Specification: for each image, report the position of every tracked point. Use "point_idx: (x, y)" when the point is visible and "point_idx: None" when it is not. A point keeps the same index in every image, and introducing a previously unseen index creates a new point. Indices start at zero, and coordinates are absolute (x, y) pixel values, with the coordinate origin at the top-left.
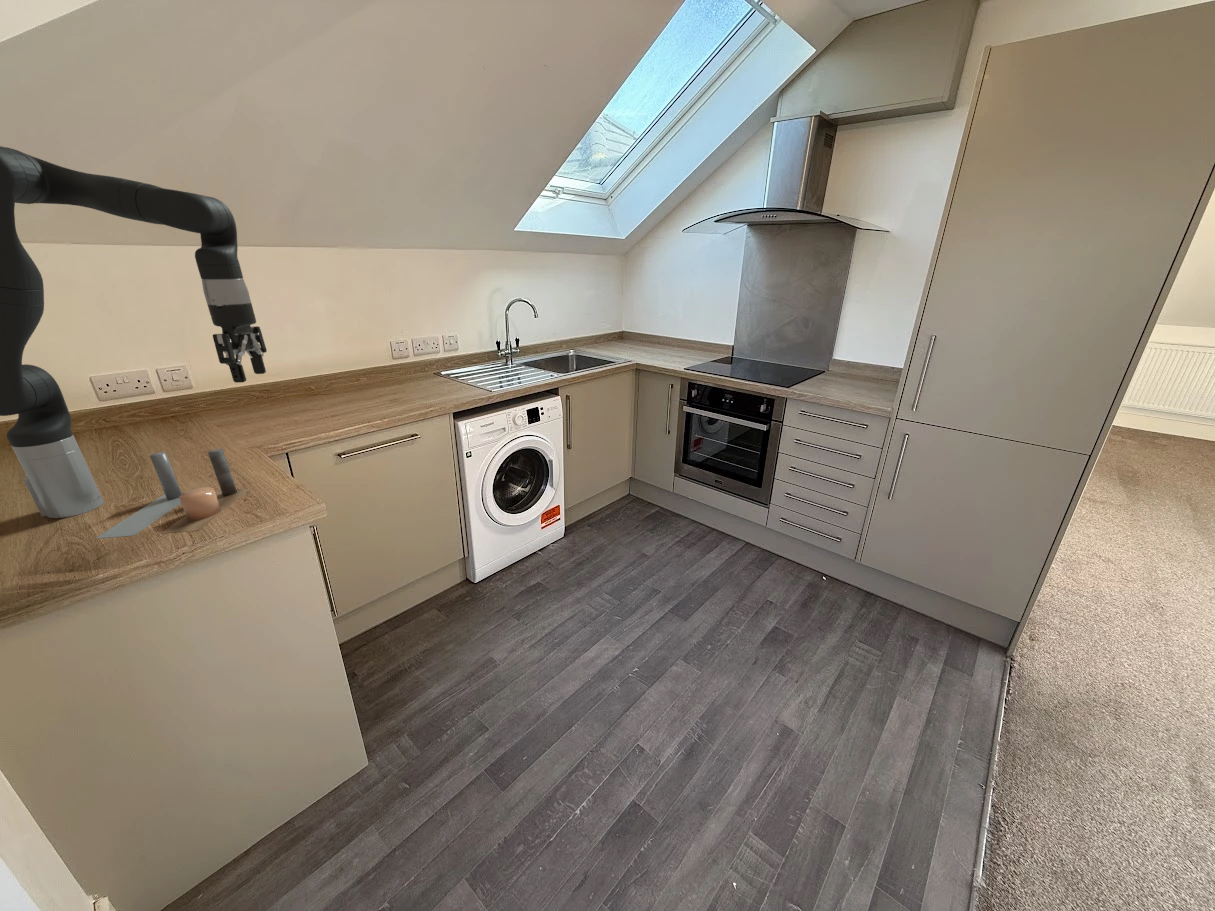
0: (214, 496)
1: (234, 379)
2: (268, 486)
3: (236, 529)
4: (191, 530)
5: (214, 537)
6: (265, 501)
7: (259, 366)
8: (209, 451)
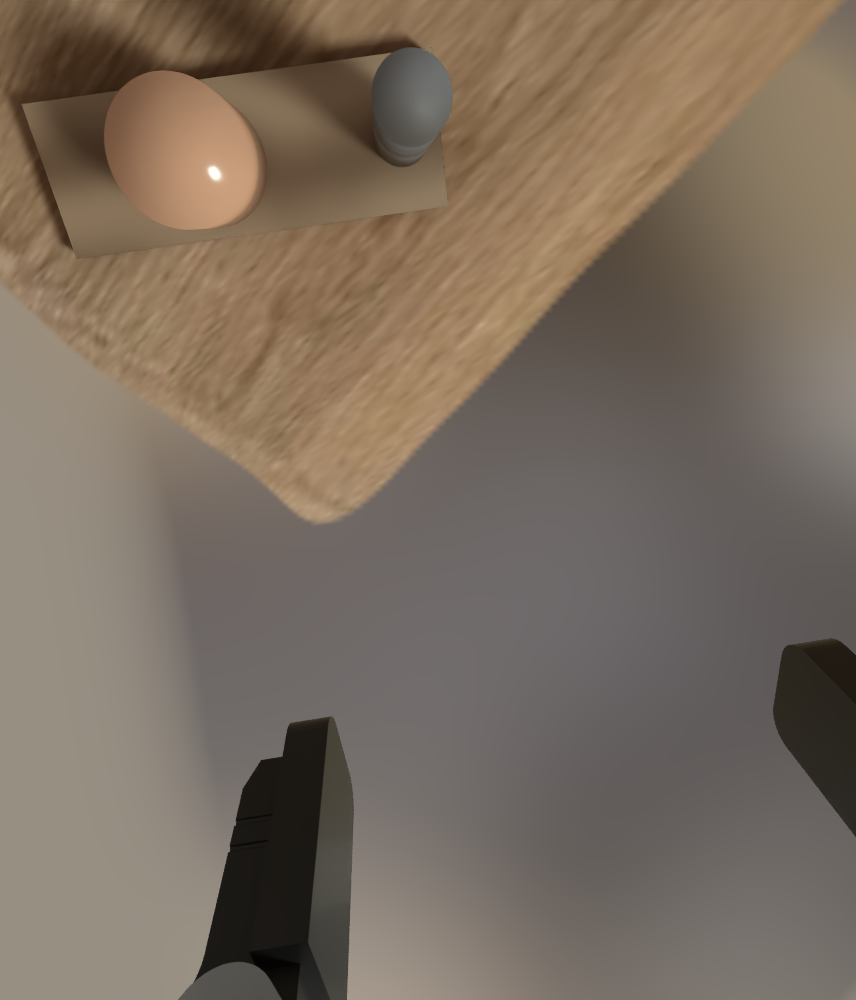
0: (211, 227)
1: (259, 778)
2: (516, 235)
3: (155, 356)
4: (70, 226)
5: (92, 316)
6: (372, 319)
7: (842, 775)
8: (405, 52)
